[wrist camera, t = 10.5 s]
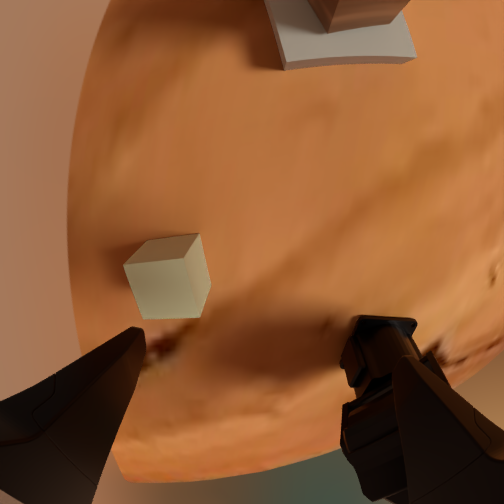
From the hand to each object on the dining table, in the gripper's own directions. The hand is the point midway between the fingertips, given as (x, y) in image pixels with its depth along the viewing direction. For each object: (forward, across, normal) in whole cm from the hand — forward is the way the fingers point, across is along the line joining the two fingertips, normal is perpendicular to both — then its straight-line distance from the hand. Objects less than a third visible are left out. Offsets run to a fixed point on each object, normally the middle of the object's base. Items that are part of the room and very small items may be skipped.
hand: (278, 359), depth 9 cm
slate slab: (+14, -2, -17) cm, 22 cm away
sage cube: (+13, +7, +4) cm, 15 cm away
